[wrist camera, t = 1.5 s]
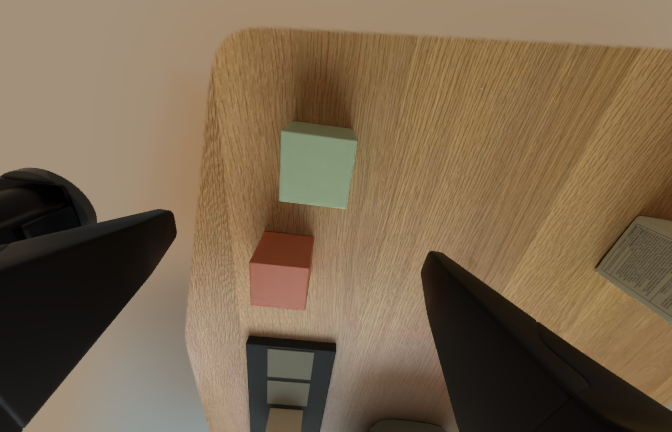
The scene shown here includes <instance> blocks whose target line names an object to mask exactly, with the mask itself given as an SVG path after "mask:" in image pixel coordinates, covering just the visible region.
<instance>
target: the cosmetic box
mask: <svg viewBox="0 0 672 432" xmlns="http://www.w3.org/2000/svg"><path fill="white" fill-rule="evenodd" d="M595 271H596V272H597V273H598V274H599V275H601V276H602V277H604V278H605V279H606V280H608V281H609V282H611V283H612V284H614V285H615V286H617V287H618V288H619V289H621V290H622V291H624V292H625V293H627V294H628V295H630V296H631V297H632V298H634V299H635V300H637V301H638V302H639V303H641V304H642V305H644V306H645V307H647V308H648V309H649V310H651V311H652V312H654V313H655V314H656V315H658V316H659V317H661V318H662V319H664V320H665V321H666V322H668V323H669V324H671V325H672V221H669V220H663V219H658V218H651V217H645V216H638V217H636V219H635V220H634V221H633V222H632V224H631V225H630V226H629V227H628V228H627V230H626V231H625V232H624V233H623V235H622V236H621V237H620V238H619V240H618V241H617V242H616V244H615V245H614V246H613V247H612V249H611V250H610V251H609V252H608V254H607V255H606V256H605V257H604V259H603V260H602V262H601V263H600V264H599V266H598V267H597V268H596V270H595Z"/></svg>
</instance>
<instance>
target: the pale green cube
mask: <svg viewBox="0 0 672 432" xmlns="http://www.w3.org/2000/svg"><path fill="white" fill-rule="evenodd" d="M357 144H358V140H357V138H356V135H355V133H354V130H353V129H349V128H342V127H334V126H327V125H320V124H313V123H305V122H298V121H293V122H291V123H290V124H289V125H287V126H286V127H285V128H284V129H282V130H281V138H280V174H279V201H282V202H291V203H299V204H307V205H316V206H324V207H333V208H341V209H346V208H347V204H348V198H349V192H350V186H351V180H352V174H353V168H354V162H355V156H356V150H357Z"/></svg>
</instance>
